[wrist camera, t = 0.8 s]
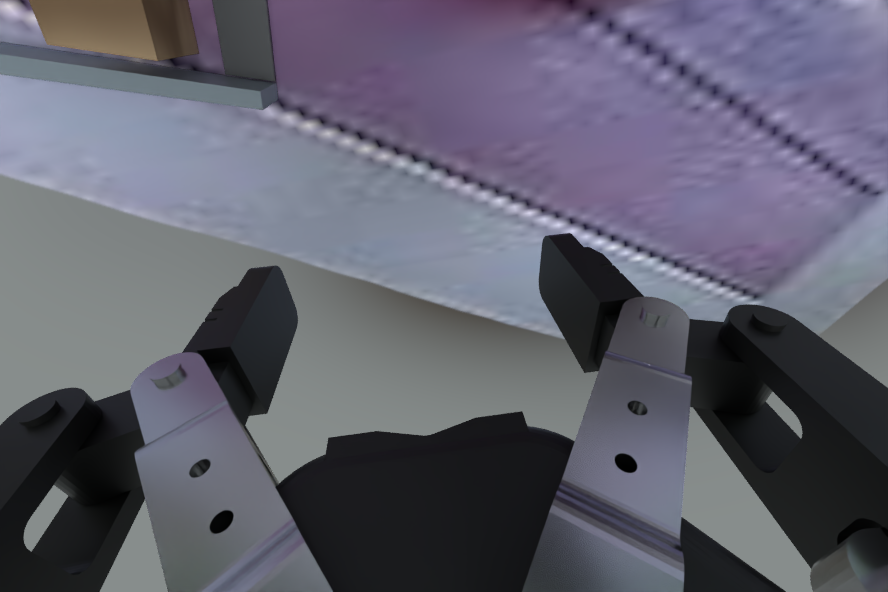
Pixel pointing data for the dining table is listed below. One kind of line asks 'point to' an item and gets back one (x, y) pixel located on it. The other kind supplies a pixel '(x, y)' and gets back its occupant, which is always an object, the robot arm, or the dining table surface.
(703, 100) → the dining table surface
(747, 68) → the dining table surface
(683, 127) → the dining table surface
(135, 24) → the block
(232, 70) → the channel
